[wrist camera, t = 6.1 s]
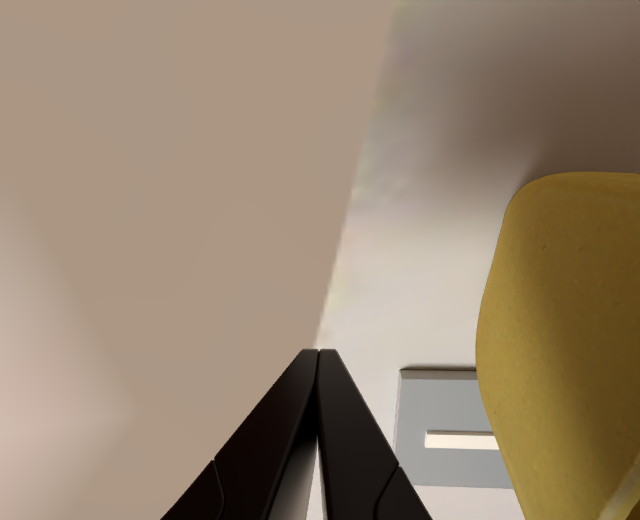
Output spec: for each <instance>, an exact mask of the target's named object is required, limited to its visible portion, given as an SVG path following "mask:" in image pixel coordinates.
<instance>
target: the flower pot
mask: <svg viewBox="0 0 640 520" xmlns="http://www.w3.org/2000/svg"><path fill="white" fill-rule="evenodd" d="M476 371H477V378H478V384H479V389H480V394H481V398H482V401H483V405H484V408H485V411H486V414H487V417H488V420H489V423H490V425H491V428H492V431H493V433H494V436H495V439H496V442H497V444H498V447H499V450H500V452H501V455H502V458H503V461H504V463H505V466H506V469H507V472H508V474H509V477H510V480H511V483H512V485H513V488H514V491H515V493H516V496H517V498H518V501H519V504H520V506H521V509H522V512H523V514H524V517H525V520H640V174H639V173H617V172H594V171H589V172H565V173H557V174H552V175H548V176H544V177H541V178H538V179H536V180H534V181H532V182H530V183H528V184H526V185H525V186H523V187H522V188H521V189H520V190H519V191H518V192H517V193H516V194H515V195H514V197H513V198H512V200H511V201H510V203H509V205H508V206H507V209H506V212H505V215H504V219H503V223H502V227H501V231H500V235H499V238H498V242H497V246H496V250H495V254H494V258H493V262H492V265H491V269H490V272H489V276H488V279H487V283H486V287H485V290H484V294H483V297H482V301H481V307H480V312H479V318H478V325H477V332H476Z"/></svg>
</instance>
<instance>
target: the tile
mask: <svg viewBox="0 0 640 520" xmlns="http://www.w3.org/2000/svg"><path fill="white" fill-rule="evenodd" d="M393 452H394V454H395V456H396V458H397V459H398V461H399V464H400V466H401V467H402V468H403V470H404V472H405V473H406V475H407V477H408V479H409V481H410V482H411V484H412V485H419V486H447V487H476V488H504V489H514V488H513V485H512V483H511V480H510V477H509V474H508V472H507V469H506V466H505V463H504V461H503V458H502V455H501V452H500V450H499V447H498V444H497V442H496V439H495V436H494V433H493V431H492V428H491V425H490V423H489V420H488V417H487V414H486V411H485V408H484V405H483V401H482V398H481V394H480V389H479V384H478V378H477V371H425V370H400V371H399V383H398V394H397V406H396V417H395V429H394V440H393Z"/></svg>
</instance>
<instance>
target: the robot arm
mask: <svg viewBox="0 0 640 520" xmlns="http://www.w3.org/2000/svg"><path fill="white" fill-rule="evenodd" d="M317 443H318V452H319V467H320V481H321V494H322V508H323V520H433V519H432V518H431V516H430V514H429V513H428V511H427V509H426V508H425V506H424V504H423V503H422V501H421V499H420V498H419V496H418V494H417V493H416V491H415V489H414V488H413V486H412V484H411V482H410V481H409V479H408V477H407V475H406V473H405V472H404V470H403V468H402V467H401V466H400V464H399V461H398V459H397V458H396V456H395V454H394V452H393V451H392V449H391V447H390V445H389V443H388V442H387V440H386V438H385V436H384V434H383V433H382V431H381V429H380V427H379V425H378V424H377V422H376V420H375V418H374V416H373V415H372V413H371V411H370V409H369V408H368V406H367V404H366V402H365V400H364V399H363V397H362V395H361V393H360V391H359V390H358V388H357V386H356V384H355V382H354V381H353V379H352V377H351V375H350V373H349V372H348V370H347V368H346V366H345V365H344V363H343V361H342V359H341V357H340V356H339V354H338V352H337V351H336V350H335V349H321V350H320V351H319V350H318V349H303V350H301V351H300V352H299V354H298V355H297V356H296V358H295V359H294V360H293V361H292V363H291V364H290V365H289V366H288V367H287V368H286V370H285V371H284V372H283V373H282V375H281V376H280V377H279V378H278V379H277V381H276V382H275V383H274V384H273V386H272V387H271V388H270V389H269V391H268V392H267V393H266V394H265V396H264V397H263V398H262V399H261V400H260V402H259V403H258V404H257V405H256V406H255V408H254V409H253V410H252V411H251V413H250V414H249V415H248V416H247V418H246V419H245V420H244V421H243V423H242V424H241V425H240V426H239V427H238V429H237V430H236V431H235V432H234V433H233V435H232V436H231V437H230V438H229V440H228V441H227V442H226V443H225V444H224V446H223V447H222V448H221V449H220V451H219V452H218V453H217V454H216V456H215V457H214V460H215V461H214V460H211V461H210V463H209V464H208V465H207V466H206V467H205V469H204V470H203V471H202V472H201V474H200V475H199V476H198V477H197V478H196V480H195V481H194V482H193V483H192V484H191V486H190V487H189V488H188V489H187V490H186V491H185V493H184V494H183V495H182V496H181V497H180V498H179V499H178V501H177V502H176V503H175V504H174V505H173V507H171V508H170V510H169V511H168V512H167V513H166V514H165V515H164V516H163V517H162V518H161V519H160V520H306V516H307V510H308V504H309V497H310V491H311V485H312V478H313V472H314V466H315V459H316V452H317Z"/></svg>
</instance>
